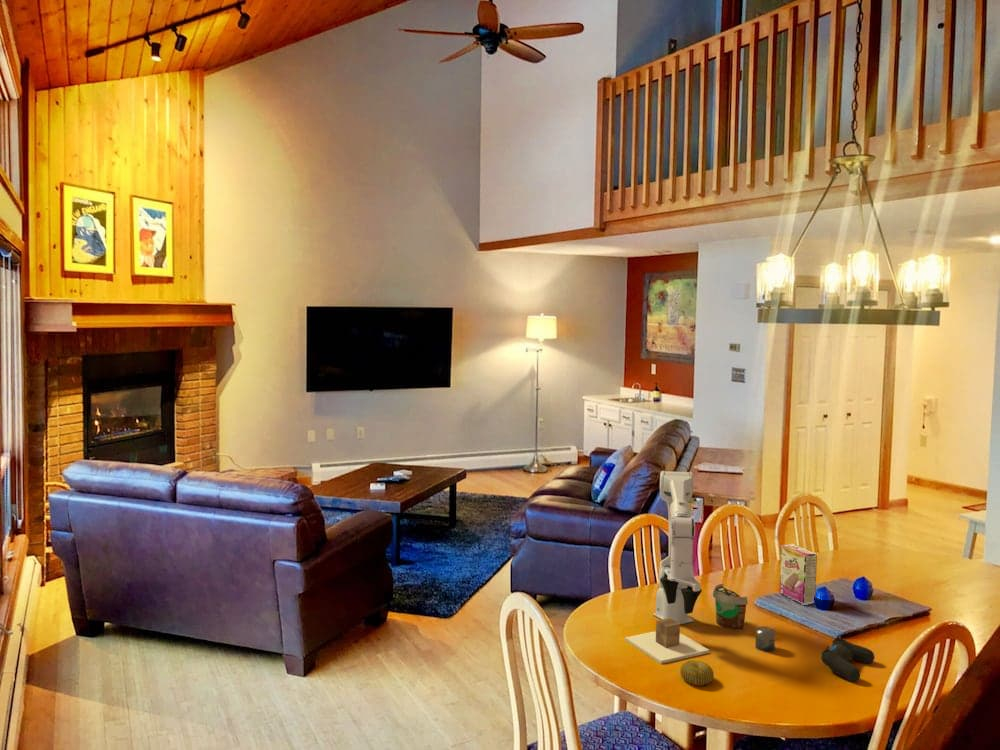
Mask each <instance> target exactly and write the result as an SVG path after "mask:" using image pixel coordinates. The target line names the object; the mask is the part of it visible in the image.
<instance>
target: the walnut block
mask: <svg viewBox="0 0 1000 750" xmlns="http://www.w3.org/2000/svg"><path fill="white" fill-rule="evenodd" d="M680 628H681V624H679V623H678V622H676V621H674V620H672V619H671V618H666V619H657V620H656V621H655V631H656V642H657V643H658V644H660V645H662V646H663V647H665V648H669V647H673V646H678V645H679V639H680V633H681V629H680Z"/></svg>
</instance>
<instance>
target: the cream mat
mask: <svg viewBox="0 0 1000 750" xmlns="http://www.w3.org/2000/svg"><path fill="white" fill-rule="evenodd" d="M624 641H625V642H627V643H628V644H630V645H631V646H632V647H635V648H636V649H637V650H639V651H640V652H642V653H644V654H645V655H647V656H648V657H650V658H651V659H653V660H654V661H655V662H657V663H659V664H660V665H663V664H666V663H671V662H672V663H673V662H675V661H680V660H684V659H689V658H692V657H696V656H701V655H705V654H710V649H709V648H707V647H705V646H703V645H701V643H698V642H697V641H695V640H693V639H691V638H689V637H688V636H686V635H685V634H682V633H681V632H680V639H679V645H678V646H673V647H669V648H665V647H663V646H662V645H660V644H658V643H657V642H656V630H655V631H650V632H644V633H641V634H635V635H630V636H626V637H624Z"/></svg>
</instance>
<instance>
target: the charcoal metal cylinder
mask: <svg viewBox="0 0 1000 750" xmlns="http://www.w3.org/2000/svg"><path fill="white" fill-rule="evenodd" d="M754 646H755V649H757V650H758V651H761V652H763V651H764V652H765V653H770V652H771V651H772V652H774V651H776V630H775V629H773V628H772V627H769V626H758V627H756V628H755V645H754ZM772 652H771V653H772Z"/></svg>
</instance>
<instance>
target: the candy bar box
mask: <svg viewBox="0 0 1000 750" xmlns="http://www.w3.org/2000/svg"><path fill="white" fill-rule="evenodd" d="M817 561H818V553H816V552H813V551H811V550H808V549H806V548H804V547H801V546H799V545H796V544H795V543H789V544H782V545H781V547H780V569H779V570H780V574H779V594H780V595H781V594H783V595H786V596H788V597H790V598H793V599H795V600H798V601H800V602H803V603H806V602H811V601H813V599H814V595H815V596H816V588H817V587H816V585H817V565H818V564H817V563H818V562H817ZM783 595H782V596H783Z"/></svg>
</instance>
